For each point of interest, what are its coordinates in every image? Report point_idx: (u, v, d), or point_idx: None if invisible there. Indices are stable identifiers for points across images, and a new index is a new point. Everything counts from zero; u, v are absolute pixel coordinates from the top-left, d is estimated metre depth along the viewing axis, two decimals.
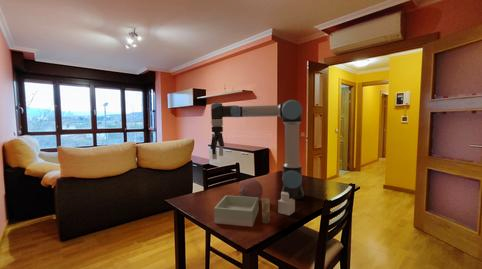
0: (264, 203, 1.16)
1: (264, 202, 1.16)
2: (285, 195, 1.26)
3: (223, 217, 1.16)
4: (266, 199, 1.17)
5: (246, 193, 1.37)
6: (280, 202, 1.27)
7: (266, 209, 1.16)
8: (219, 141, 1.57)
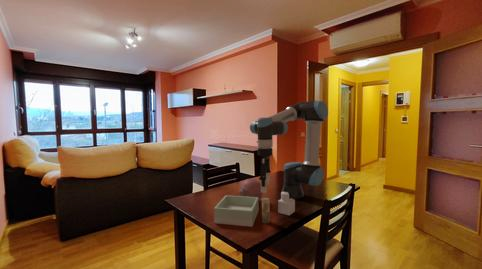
0: (264, 203, 1.16)
1: (264, 202, 1.16)
2: (285, 195, 1.26)
3: (223, 217, 1.16)
4: (266, 199, 1.17)
5: (246, 193, 1.37)
6: (280, 202, 1.27)
7: (266, 209, 1.16)
8: None
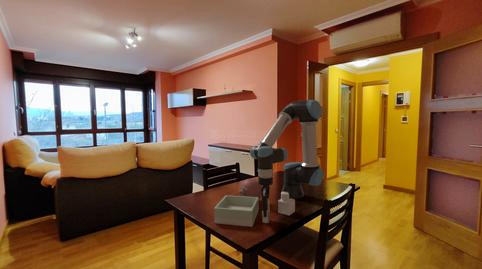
0: None
1: None
2: (285, 195, 1.26)
3: (223, 217, 1.16)
4: None
5: (246, 193, 1.37)
6: (280, 202, 1.27)
7: None
8: None
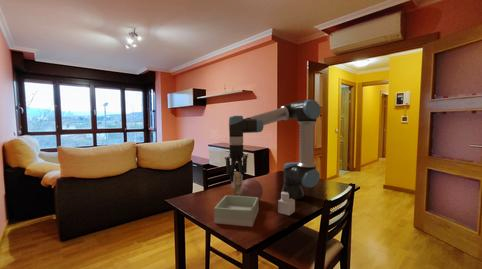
0: None
1: None
2: (285, 195, 1.26)
3: (223, 217, 1.16)
4: (236, 172, 1.22)
5: (246, 193, 1.37)
6: (280, 202, 1.27)
7: None
8: (239, 165, 1.24)
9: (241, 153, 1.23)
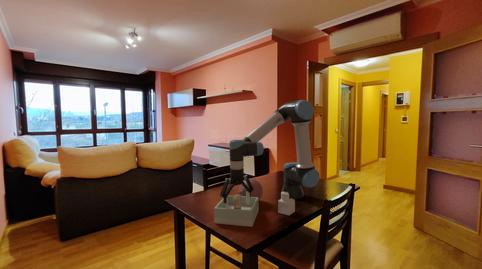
0: None
1: None
2: (285, 195, 1.26)
3: (223, 217, 1.16)
4: (237, 195, 1.23)
5: None
6: (280, 202, 1.27)
7: (234, 204, 1.23)
8: (243, 186, 1.26)
9: (241, 177, 1.23)
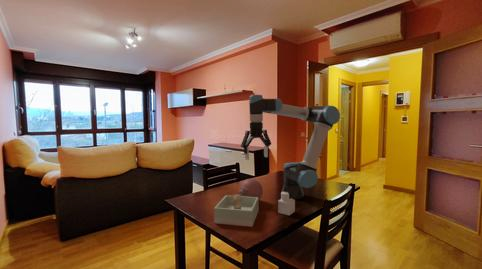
0: None
1: None
2: (285, 195, 1.26)
3: (223, 217, 1.16)
4: (237, 195, 1.23)
5: (246, 193, 1.37)
6: (280, 202, 1.27)
7: (234, 204, 1.23)
8: (262, 139, 1.34)
9: (260, 131, 1.31)
